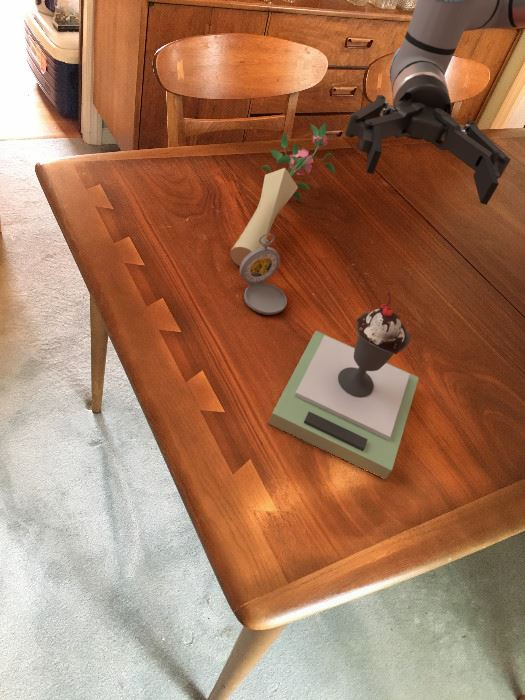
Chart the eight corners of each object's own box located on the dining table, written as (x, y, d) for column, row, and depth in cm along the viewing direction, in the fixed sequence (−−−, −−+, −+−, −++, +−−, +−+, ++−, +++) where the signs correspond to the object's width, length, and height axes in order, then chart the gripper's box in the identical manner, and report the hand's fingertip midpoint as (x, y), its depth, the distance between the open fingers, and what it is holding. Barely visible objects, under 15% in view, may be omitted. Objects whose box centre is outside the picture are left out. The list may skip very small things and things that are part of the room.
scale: (412, 387, 80) (421, 373, 78) (384, 480, 68) (394, 467, 66) (311, 341, 82) (317, 326, 80) (267, 423, 70) (273, 409, 68)
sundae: (340, 355, 77) (380, 273, 66) (385, 377, 76) (432, 298, 65) (323, 386, 72) (363, 304, 61) (370, 410, 71) (419, 331, 60)
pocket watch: (272, 323, 83) (289, 272, 75) (225, 297, 84) (237, 244, 77) (296, 295, 88) (314, 245, 81) (251, 271, 90) (265, 220, 82)
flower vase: (220, 288, 97) (282, 163, 114) (287, 299, 93) (340, 168, 111) (204, 238, 87) (275, 110, 105) (278, 248, 83) (338, 113, 101)
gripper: (491, 150, 80) (518, 233, 66) (326, 105, 79) (315, 179, 64) (519, 99, 75) (556, 177, 60) (342, 49, 74) (335, 116, 59)
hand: (432, 178), depth 62 cm, fingers open, 13 cm apart
